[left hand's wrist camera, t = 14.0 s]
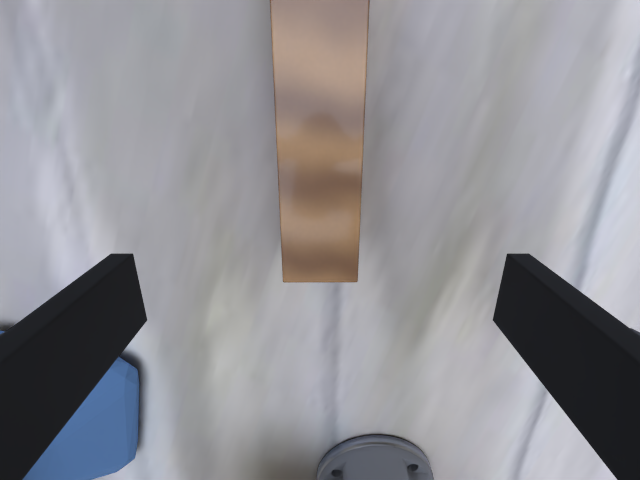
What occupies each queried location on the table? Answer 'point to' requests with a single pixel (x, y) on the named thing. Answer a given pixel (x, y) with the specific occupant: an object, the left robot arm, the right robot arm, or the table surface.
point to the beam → (319, 134)
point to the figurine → (96, 431)
